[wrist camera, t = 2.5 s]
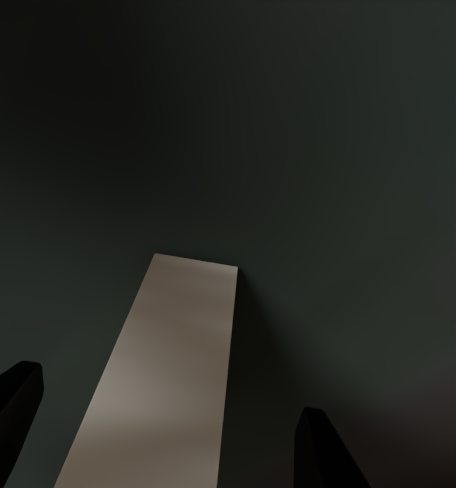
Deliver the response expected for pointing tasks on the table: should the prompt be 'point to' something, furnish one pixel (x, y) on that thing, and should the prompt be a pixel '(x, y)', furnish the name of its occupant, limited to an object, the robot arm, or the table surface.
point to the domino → (161, 385)
